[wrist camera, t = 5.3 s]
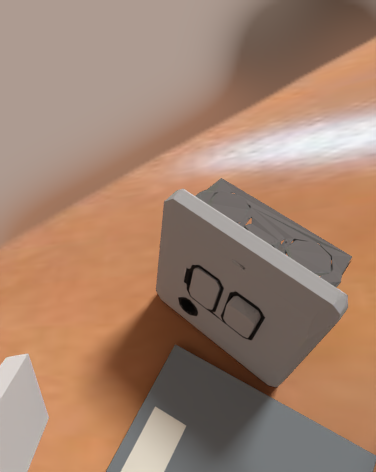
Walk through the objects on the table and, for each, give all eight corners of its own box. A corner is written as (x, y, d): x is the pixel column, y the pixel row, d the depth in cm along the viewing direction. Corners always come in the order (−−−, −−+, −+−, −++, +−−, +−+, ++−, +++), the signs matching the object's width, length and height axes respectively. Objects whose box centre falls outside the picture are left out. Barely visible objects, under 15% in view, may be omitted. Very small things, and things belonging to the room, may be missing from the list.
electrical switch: (154, 296, 24) (138, 215, 16) (202, 245, 26) (209, 151, 18) (273, 393, 21) (326, 351, 13) (317, 325, 23) (385, 254, 15)
